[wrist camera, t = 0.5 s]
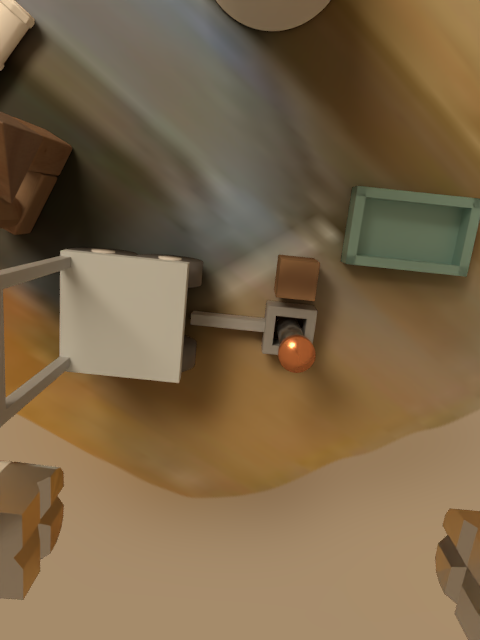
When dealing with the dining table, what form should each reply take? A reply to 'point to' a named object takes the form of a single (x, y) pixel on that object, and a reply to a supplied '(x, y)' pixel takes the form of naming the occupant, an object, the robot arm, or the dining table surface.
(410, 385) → the dining table surface
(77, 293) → the trolley
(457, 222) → the tray
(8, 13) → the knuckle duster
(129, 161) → the dining table surface
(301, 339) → the pin
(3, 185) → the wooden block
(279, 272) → the block
